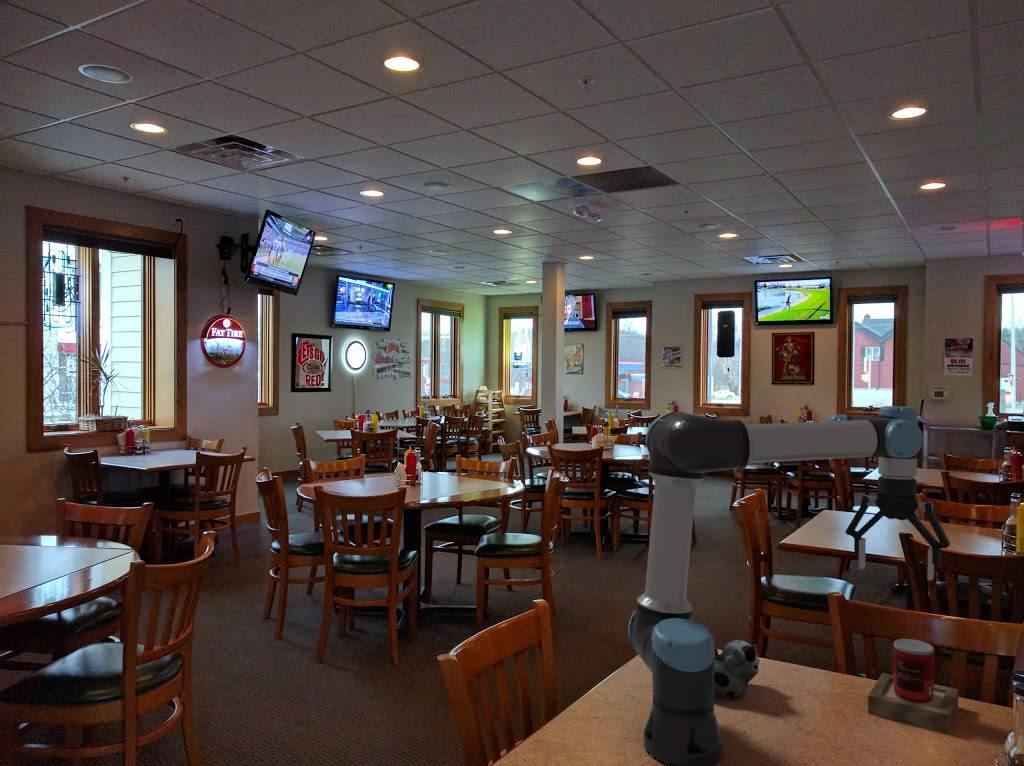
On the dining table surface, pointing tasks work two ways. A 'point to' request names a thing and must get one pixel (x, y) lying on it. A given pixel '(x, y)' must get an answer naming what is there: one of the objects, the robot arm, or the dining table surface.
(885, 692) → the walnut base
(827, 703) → the dining table surface
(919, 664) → the canned food
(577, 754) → the dining table surface
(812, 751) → the dining table surface
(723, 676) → the lucky cat figurine
